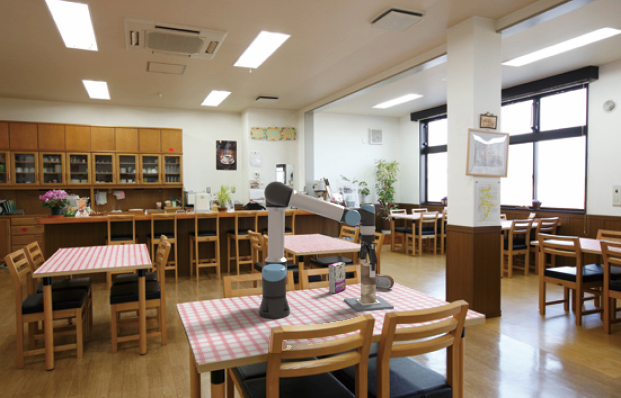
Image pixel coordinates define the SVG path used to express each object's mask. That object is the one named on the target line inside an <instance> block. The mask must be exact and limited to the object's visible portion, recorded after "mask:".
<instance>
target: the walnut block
mask: <svg viewBox="0 0 621 398" xmlns="http://www.w3.org/2000/svg"><path fill="white" fill-rule="evenodd" d="M369 264H370V262H366V263H365V264H361V263H360V284H361V283H362V284H364V285H374V284H376V274H377V273H376V271H377V270H376V267H377V264H375V277H370V265H369Z"/></svg>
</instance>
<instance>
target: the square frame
mask: <svg viewBox="0 0 621 398" xmlns="http://www.w3.org/2000/svg"><path fill="white" fill-rule="evenodd" d="M356 301H357V302H358V303H360V304H361V305H362V306H365V305H378V304H381V303H380V302H379V301H378V300H376V303H362V302H361V299H356Z"/></svg>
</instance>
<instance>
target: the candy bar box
mask: <svg viewBox="0 0 621 398" xmlns="http://www.w3.org/2000/svg"><path fill="white" fill-rule="evenodd" d="M346 289H347V288H346V263H345V262H341V261H338V262H334V263H332V264H328V293H330V294H339V293H341V292H343V291H346Z"/></svg>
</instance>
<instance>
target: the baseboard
mask: <svg viewBox="0 0 621 398" xmlns="http://www.w3.org/2000/svg"><path fill="white" fill-rule="evenodd" d="M356 299H361V296H360V297H349V298H348V297H347V298H343V301H344V302H345V303H347V305H348V306H350V307H351V308H352V309H353V310H354V311H355V312H363V310H366V311H377V309H379V310H385V309H384V308H391V309H394V307H395V306H394V305H393V304H391V303H390V302H388V301H387V300H385V299H384V298H382V297H381V296H380V295H378V296H377V295H376V300H378V301H379V302H380V303H381V304H378V305H365V306H362V305H361V304H360V303H358V302H357V301H356Z"/></svg>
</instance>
